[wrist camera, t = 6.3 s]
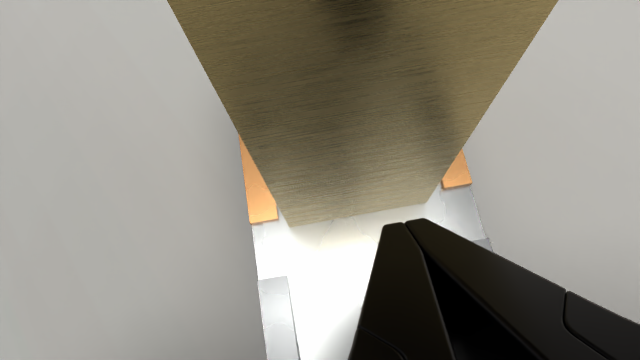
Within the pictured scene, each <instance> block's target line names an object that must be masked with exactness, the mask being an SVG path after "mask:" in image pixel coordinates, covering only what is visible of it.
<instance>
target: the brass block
mask: <svg viewBox="0 0 640 360" xmlns="http://www.w3.org/2000/svg"><path fill="white" fill-rule="evenodd" d="M167 1H168V3H169V5H170V7H171V9H172V10H173V12H174V14H175V16H176V18H177V20H178V22H179V23H180V25H181V27H182V29H183V31H184V33H185V35H186V36H187V38H188V40H189V42H190V44H191V46H192V48H193V49H194V51H195V53H196V55H197V57H198V59H199V61H200V62H201V64H202V66H203V68H204V70H205V72H206V74H207V76H208V77H209V79H210V81H211V83H212V85H213V87H214V89H215V90H216V92H217V94H218V96H219V98H220V100H221V102H222V103H223V105H224V107H225V109H226V111H227V113H228V115H229V116H230V118H231V120H232V122H233V124H234V126H235V128H236V129H237V131H238V133H239V135H240V137H241V139H242V141H243V142H244V144H245V146H246V148H247V150H248V152H249V154H250V155H251V157H252V159H253V161H254V163H255V165H256V167H257V168H258V170H259V172H260V174H261V176H262V178H263V180H264V181H265V183H266V185H267V187H268V189H269V191H270V193H271V194H272V196H273V198H274V200H275V202H276V204H277V206H278V207H279V209H280V211H281V213H282V215H283V217H284V219H285V220H286V222H287V224H288V226H289V227H295V226H300V225H306V224H311V223H317V222H322V221H328V220H333V219H339V218H344V217H350V216H355V215H360V214H366V213H371V212H377V211H382V210H388V209H393V208H399V207H404V206H410V205H415V204H421V203H426V202H427V201H428V200H429V198H430V197H431V195H432V194H433V192H434V190H435V189H436V187H437V186H438V184H439V183H440V181H441V180H442V178H443V177H444V175H445V174H446V172H447V171H448V169H449V167H450V166H451V164H452V163H453V161H454V160H455V158H456V157H457V155H458V154H459V152H460V151H461V149H462V147H463V146H464V144H465V143H466V141H467V140H468V138H469V137H470V135H471V134H472V132H473V131H474V129H475V128H476V126H477V124H478V123H479V121H480V120H481V118H482V117H483V115H484V114H485V112H486V111H487V109H488V108H489V106H490V104H491V103H492V101H493V100H494V98H495V97H496V95H497V94H498V92H499V91H500V89H501V88H502V86H503V85H504V83H505V81H506V80H507V78H508V77H509V75H510V74H511V72H512V71H513V69H514V68H515V66H516V65H517V63H518V61H519V60H520V58H521V57H522V55H523V54H524V52H525V51H526V49H527V48H528V46H529V45H530V43H531V42H532V40H533V38H534V37H535V35H536V34H537V32H538V31H539V29H540V28H541V26H542V25H543V23H544V22H545V20H546V18H547V17H548V15H549V14H550V12H551V11H552V9H553V8H554V6H555V5H556V3H557V2H558V0H167Z"/></svg>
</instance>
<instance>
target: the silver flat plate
mask: <svg viewBox="0 0 640 360" xmlns="http://www.w3.org/2000/svg"><path fill="white" fill-rule="evenodd" d="M239 141H240V149H241V157H242V165H243V173H244V181H245V189H246V196H247V204H248V212H249V220H250V224H251V225H252V233H253V240H254V248H255V256H256V264H257V272H258V279H259V280H257V283H258V291H259V299H260V307H261V315H262V323H263V331H264V338H265V346H266V354H267V360H347V359H348V356H349V353H350V349H351V346H352V343H353V339H354V335H355V331H356V330H357V324H358V320H359V316H360V313H361V309H362V305H363V301H364V297H365V293H366V289H367V285H368V281H369V278H370V274H371V270H372V266H373V262H374V258H375V254H376V250H377V247H378V243H379V239H380V235H381V231H382V227H383V226H384V225H385V224H391V223H396V222H403V223H404V224H405V222H406V221H408V220H413V219H419V218H426V219H428V220H430V221H432V222H434V223H436V224H438V225H440V226H442V227H444V228H446V229H448V230H450V231H452V232H454V233H456V234H458V235H460V236H462V237H464V238H466V239H468V240H470V241H472V242H474V243H476V244H478V245H480V246H482V247H484V248H486V249H488V250H490V251H492V252H493V250H492V247H491V243H490V240H489V238H486V237H485V234H484V231H483V227H482V224H481V220H480V217H479V214H478V210H477V207H476V204H475V200H474V197H473V194H472V190H471V187H470V185H471V184H472V180H471V177H470V173H469V170H468V167H467V163H466V160H465V157H464V153H463V150H462V149H461V151H460V152H459V154H458V155H457V157H456V158H455V160H454V161H453V163H452V164H451V166H450V167H449V169H448V171H447V172H446V174H445V175H444V177H443V178H442V180H441V181H440V183H439V184H438V186H437V187H436V189H435V190H434V192H433V194H432V195H431V197H430V198H429V200H428V201H427V202H426V203H421V204H415V205H410V206H404V207H399V208H393V209H388V210H382V211H377V212H371V213H366V214H360V215H355V216H350V217H344V218H339V219H333V220H328V221H322V222H317V223H311V224H306V225H300V226H295V227H289V226H288V224H287V222H286V220H285V219H284V217H283V215H282V213H281V211H280V209H279V207H278V206H277V204H276V202H275V200H274V198H273V196H272V194H271V193H270V191H269V189H268V187H267V185H266V183H265V181H264V180H263V178H262V176H261V174H260V172H259V170H258V168H257V167H256V165H255V163H254V161H253V159H252V157H251V155H250V154H249V152H248V150H247V148H246V146H245V144H244V142H243V141H242V139H241V137H240V135H239Z"/></svg>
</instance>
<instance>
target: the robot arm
mask: <svg viewBox="0 0 640 360" xmlns="http://www.w3.org/2000/svg"><path fill="white" fill-rule="evenodd" d="M347 360H640V324H638V323H636V322H633V321H631V320H629V319H626V318H624V317H622V316H620V315H618V314H616V313H614V312H612V311H609V310H607V309H605V308H603V307H601V306H599V305H597V304H595V303H593V302H591V301H589V300H587V299H585V298H583V297H581V296H579V295H577V294H575V293H573V292H571V291H567V292H566V289H565V288H563V287H561V286H559V285H557V284H555V283H553V282H551V281H549V280H547V279H545V278H543V277H541V276H539V275H537V274H535V273H533V272H531V271H529V270H527V269H525V268H523V267H521V266H519V265H517V264H515V263H513V262H511V261H509V260H507V259H505V258H503V257H501V256H499V255H497V254H495V253H493V252H492V251H490V250H488V249H486V248H484V247H482V246H480V245H478V244H476V243H474V242H472V241H470V240H468V239H466V238H464V237H462V236H460V235H458V234H456V233H454V232H452V231H450V230H448V229H446V228H444V227H442V226H440V225H438V224H436V223H434V222H432V221H430V220H428V219H426V218H419V219H413V220H408V221H406V222H405V224H404V223H403V222H396V223H391V224H385V225H384V226H383V227H382V231H381V235H380V239H379V243H378V247H377V250H376V254H375V258H374V262H373V266H372V270H371V274H370V278H369V281H368V285H367V289H366V293H365V297H364V301H363V305H362V309H361V313H360V316H359V320H358V324H357V330H356V331H355V335H354V339H353V343H352V346H351V349H350V353H349V356H348V359H347Z"/></svg>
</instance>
